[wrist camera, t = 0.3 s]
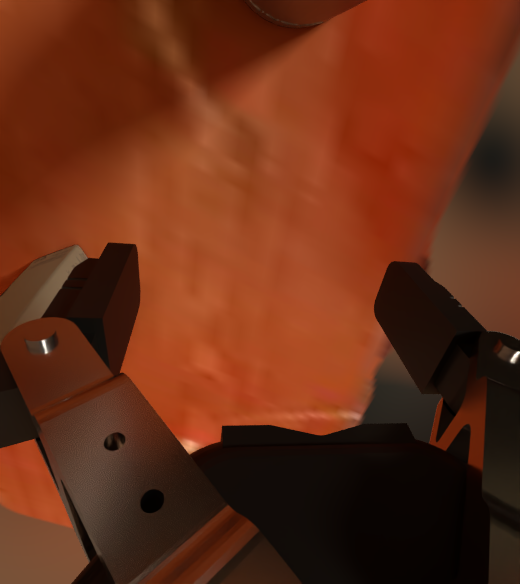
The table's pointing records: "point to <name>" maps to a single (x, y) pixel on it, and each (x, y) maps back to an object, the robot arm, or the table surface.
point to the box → (36, 288)
